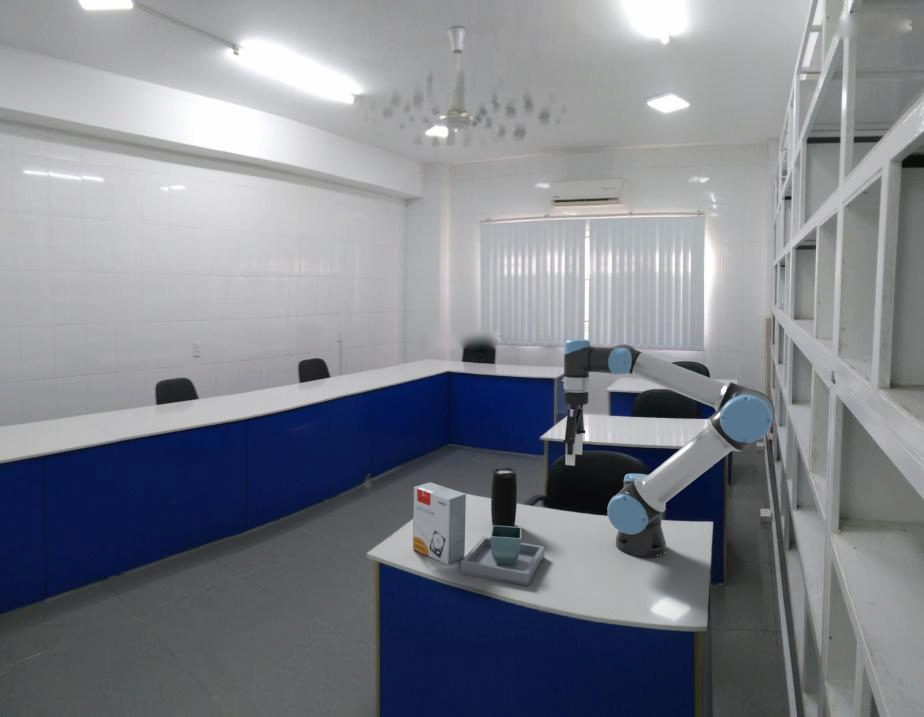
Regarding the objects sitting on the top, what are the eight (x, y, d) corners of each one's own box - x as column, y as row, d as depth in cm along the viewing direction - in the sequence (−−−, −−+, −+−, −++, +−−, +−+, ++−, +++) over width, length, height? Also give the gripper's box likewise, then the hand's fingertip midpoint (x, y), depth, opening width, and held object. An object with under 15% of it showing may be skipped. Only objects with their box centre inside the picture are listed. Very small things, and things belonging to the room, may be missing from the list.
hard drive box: (411, 550, 182) (412, 486, 180) (429, 542, 188) (430, 481, 186) (448, 565, 171) (448, 498, 170) (465, 557, 177) (466, 492, 175)
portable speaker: (511, 520, 208) (512, 465, 206) (519, 530, 199) (521, 473, 197) (487, 521, 206) (488, 466, 204) (494, 532, 197) (496, 474, 195)
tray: (544, 557, 178) (544, 546, 177) (527, 586, 160) (528, 574, 159) (483, 547, 185) (483, 536, 184) (460, 573, 167) (460, 561, 166)
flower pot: (521, 555, 176) (521, 526, 176) (520, 569, 168) (521, 538, 167) (491, 554, 177) (492, 525, 177) (489, 567, 169) (490, 536, 168)
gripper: (570, 384, 192) (569, 448, 194) (555, 395, 169) (553, 468, 171) (594, 385, 189) (592, 451, 191) (581, 397, 166) (579, 471, 168)
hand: (574, 459), depth 181 cm, fingers open, 13 cm apart
